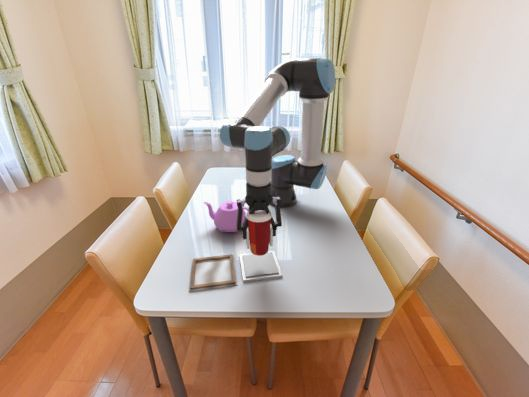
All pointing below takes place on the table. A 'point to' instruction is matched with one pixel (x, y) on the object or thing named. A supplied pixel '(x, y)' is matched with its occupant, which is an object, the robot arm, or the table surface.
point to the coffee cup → (259, 231)
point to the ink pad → (259, 266)
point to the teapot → (226, 216)
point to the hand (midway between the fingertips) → (259, 244)
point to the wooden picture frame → (212, 272)
